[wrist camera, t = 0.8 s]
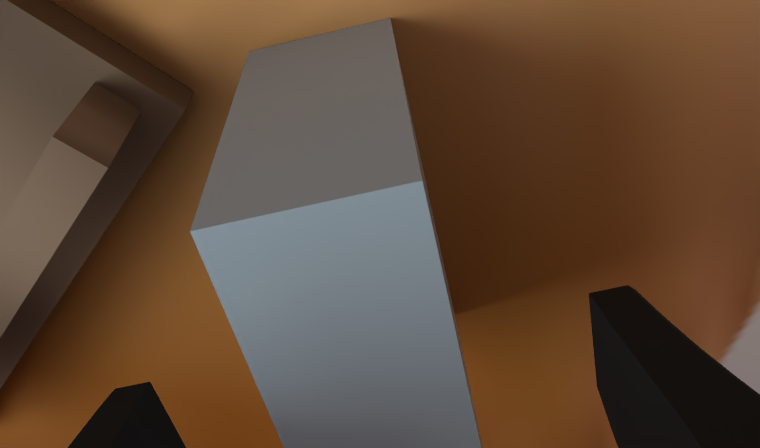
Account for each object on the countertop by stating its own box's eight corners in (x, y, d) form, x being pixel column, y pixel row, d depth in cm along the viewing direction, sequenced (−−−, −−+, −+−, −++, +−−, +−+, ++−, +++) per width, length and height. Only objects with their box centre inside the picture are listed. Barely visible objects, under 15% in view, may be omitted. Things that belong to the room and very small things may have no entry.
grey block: (454, 313, 19) (505, 558, 13) (343, 336, 19) (344, 587, 13) (390, 17, 15) (422, 180, 9) (249, 50, 15) (189, 231, 9)
